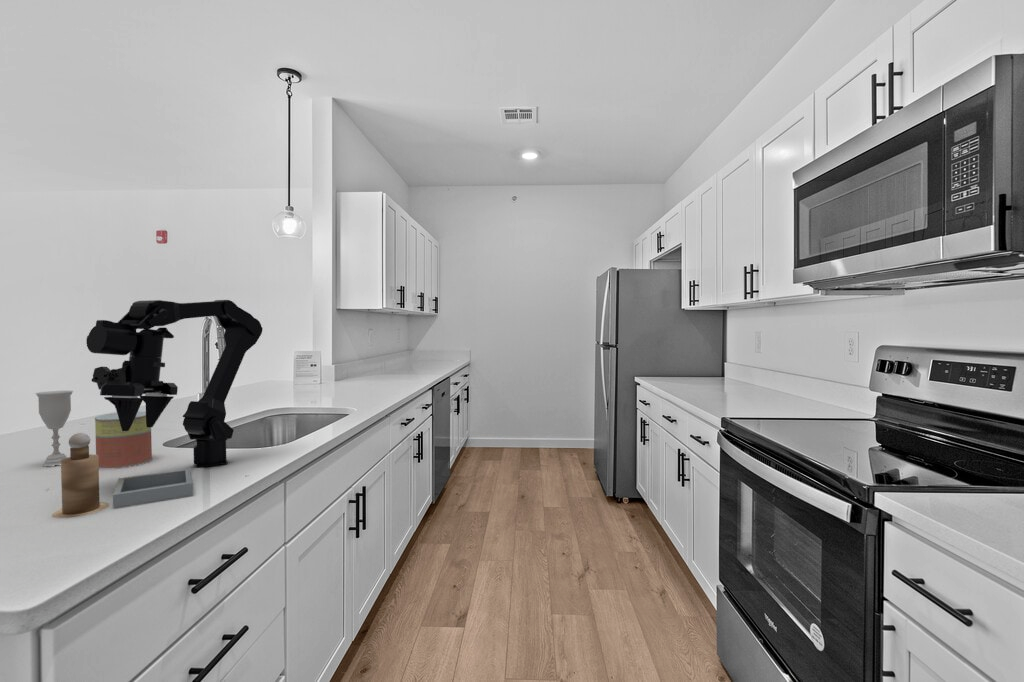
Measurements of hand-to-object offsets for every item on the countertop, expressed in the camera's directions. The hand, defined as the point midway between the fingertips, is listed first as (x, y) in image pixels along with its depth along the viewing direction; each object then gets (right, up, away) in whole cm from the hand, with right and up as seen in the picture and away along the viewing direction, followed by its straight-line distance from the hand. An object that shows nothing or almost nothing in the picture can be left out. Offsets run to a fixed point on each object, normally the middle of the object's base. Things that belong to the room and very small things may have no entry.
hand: (137, 429), depth 108 cm
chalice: (-33, -12, +17) cm, 39 cm away
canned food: (-17, -12, +18) cm, 28 cm away
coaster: (+2, -13, -16) cm, 20 cm away
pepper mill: (+2, -12, -16) cm, 20 cm away
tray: (+9, -12, -7) cm, 17 cm away
